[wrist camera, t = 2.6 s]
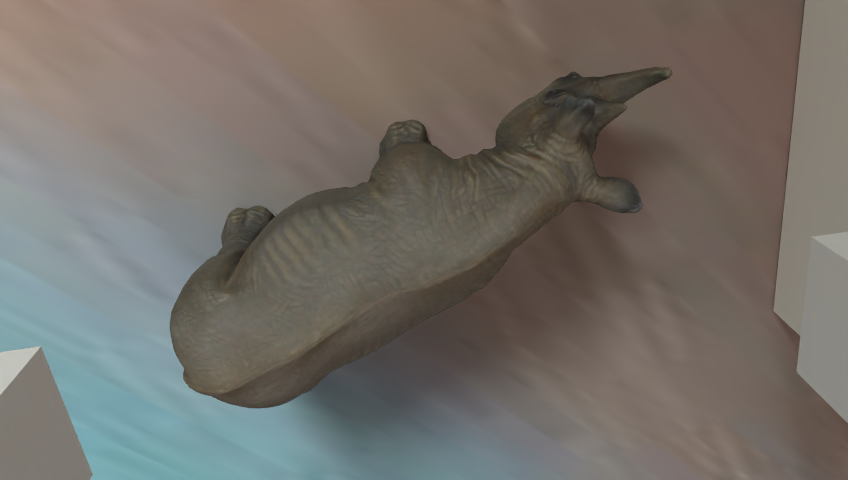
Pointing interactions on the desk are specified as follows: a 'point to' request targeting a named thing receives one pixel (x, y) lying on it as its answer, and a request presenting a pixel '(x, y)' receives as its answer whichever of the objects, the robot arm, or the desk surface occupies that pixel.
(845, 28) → the block
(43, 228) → the desk surface
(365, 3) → the desk surface
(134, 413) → the desk surface
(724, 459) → the desk surface
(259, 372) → the rhino figurine
